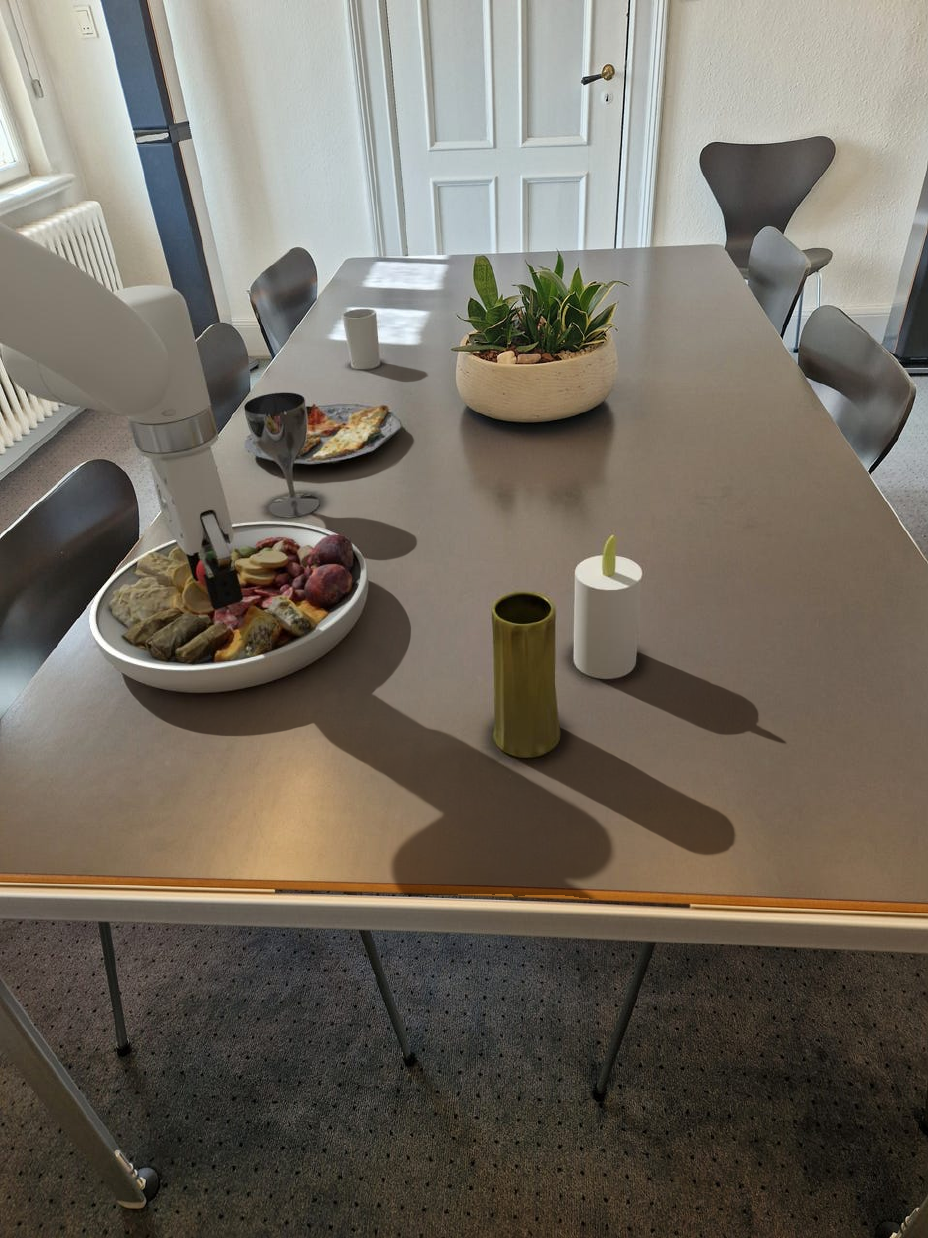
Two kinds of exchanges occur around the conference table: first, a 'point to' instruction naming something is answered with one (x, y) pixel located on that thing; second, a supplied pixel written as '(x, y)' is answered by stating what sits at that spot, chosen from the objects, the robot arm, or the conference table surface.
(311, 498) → the wine glass
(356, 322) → the white cup
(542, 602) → the vase
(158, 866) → the conference table surface
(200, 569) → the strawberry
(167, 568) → the bowl
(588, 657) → the candle
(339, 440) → the food plate
